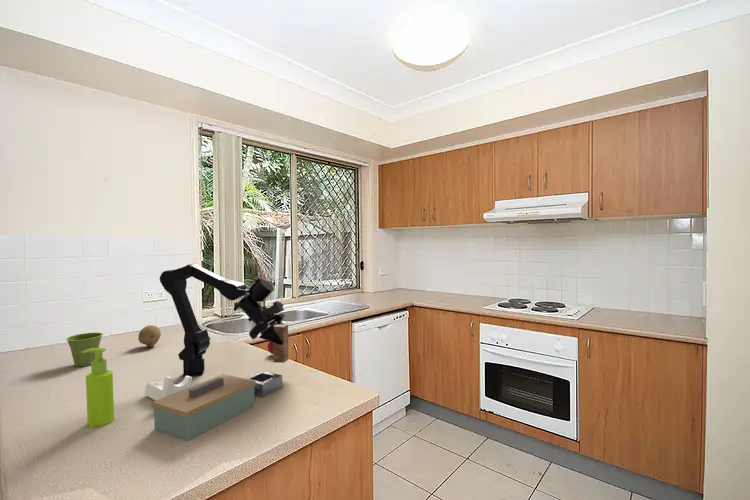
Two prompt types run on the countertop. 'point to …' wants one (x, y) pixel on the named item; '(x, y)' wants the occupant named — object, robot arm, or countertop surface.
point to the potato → (149, 335)
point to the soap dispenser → (99, 391)
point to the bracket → (166, 387)
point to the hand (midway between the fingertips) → (284, 342)
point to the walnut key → (281, 350)
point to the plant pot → (84, 347)
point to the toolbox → (203, 406)
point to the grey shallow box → (266, 383)
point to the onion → (270, 347)
